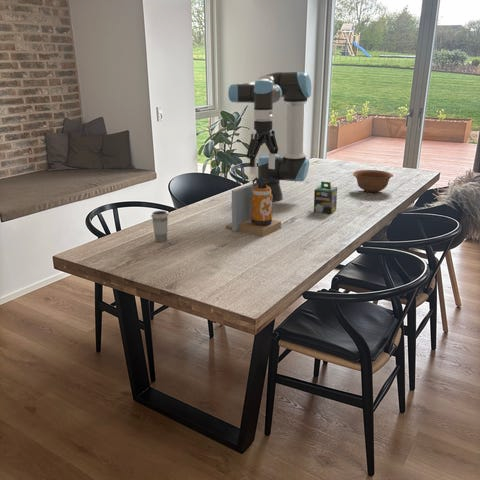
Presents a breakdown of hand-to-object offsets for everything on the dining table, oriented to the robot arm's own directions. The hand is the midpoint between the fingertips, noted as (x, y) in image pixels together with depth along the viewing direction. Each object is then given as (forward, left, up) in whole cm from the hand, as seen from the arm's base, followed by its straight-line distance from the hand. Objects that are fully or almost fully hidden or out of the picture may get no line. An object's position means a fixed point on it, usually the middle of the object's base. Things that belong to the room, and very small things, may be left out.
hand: (262, 171), depth 207 cm
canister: (-1, -1, -23) cm, 23 cm away
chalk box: (+9, +42, -26) cm, 50 cm away
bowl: (+13, +91, -26) cm, 95 cm away
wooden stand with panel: (-4, +2, -25) cm, 26 cm away
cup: (-25, -37, -26) cm, 52 cm away
